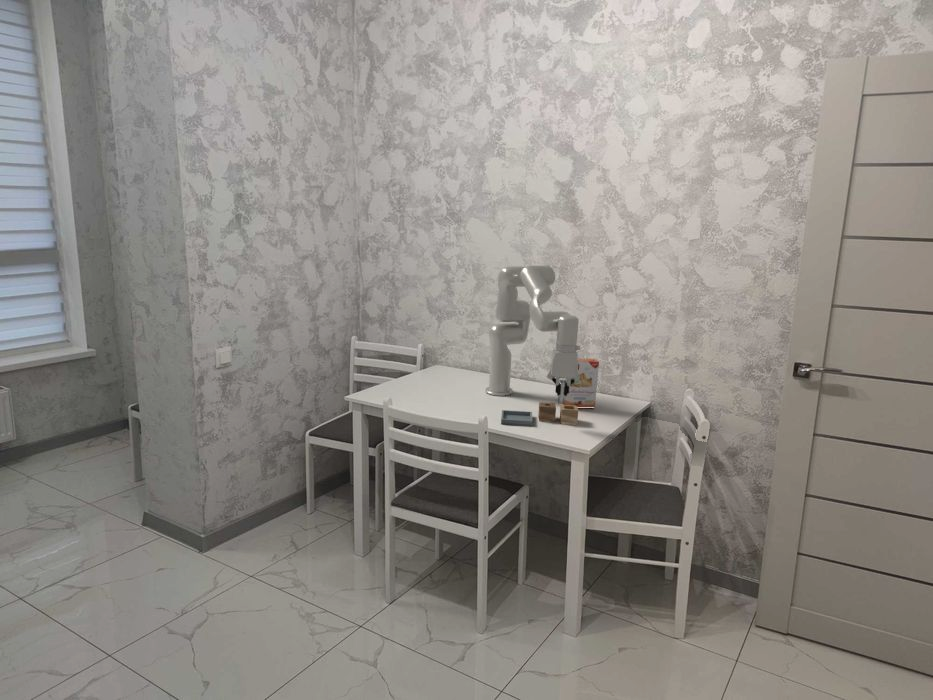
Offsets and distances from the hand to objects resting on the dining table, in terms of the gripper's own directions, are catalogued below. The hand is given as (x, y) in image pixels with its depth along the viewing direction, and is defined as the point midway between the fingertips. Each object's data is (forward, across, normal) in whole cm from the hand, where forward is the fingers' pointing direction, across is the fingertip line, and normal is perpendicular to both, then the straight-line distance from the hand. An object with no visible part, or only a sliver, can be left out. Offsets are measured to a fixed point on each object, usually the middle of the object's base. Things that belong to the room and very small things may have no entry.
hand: (561, 394), depth 245 cm
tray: (+13, +16, -4) cm, 21 cm away
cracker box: (+14, -10, -27) cm, 32 cm away
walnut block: (+13, +4, -8) cm, 16 cm away
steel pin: (+4, 0, 0) cm, 4 cm away
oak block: (+13, -4, -6) cm, 15 cm away
